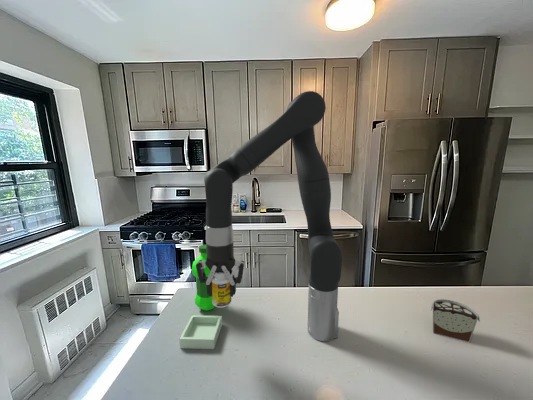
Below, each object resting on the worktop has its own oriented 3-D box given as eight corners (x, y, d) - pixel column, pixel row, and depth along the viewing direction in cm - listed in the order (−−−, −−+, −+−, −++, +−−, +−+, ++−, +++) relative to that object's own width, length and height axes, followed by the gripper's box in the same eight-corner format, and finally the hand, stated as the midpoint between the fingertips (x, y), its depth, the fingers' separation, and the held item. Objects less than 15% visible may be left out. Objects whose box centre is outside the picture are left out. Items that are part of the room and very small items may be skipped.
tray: (222, 324, 80) (221, 315, 79) (214, 349, 70) (213, 339, 69) (192, 323, 80) (191, 315, 80) (180, 348, 70) (179, 338, 69)
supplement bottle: (216, 311, 63) (215, 277, 62) (209, 301, 68) (208, 269, 66) (234, 304, 67) (234, 271, 65) (226, 294, 71) (226, 264, 69)
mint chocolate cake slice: (468, 330, 76) (473, 303, 74) (475, 344, 70) (480, 315, 69) (424, 320, 81) (427, 294, 79) (427, 332, 75) (431, 305, 74)
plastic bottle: (211, 295, 97) (207, 239, 93) (226, 305, 90) (224, 246, 86) (189, 307, 90) (185, 246, 85) (205, 319, 83) (200, 254, 78)
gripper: (246, 236, 67) (247, 288, 70) (198, 235, 68) (201, 287, 71) (243, 245, 60) (244, 303, 63) (189, 244, 60) (193, 302, 63)
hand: (221, 294), depth 67 cm, fingers closed on supplement bottle, 5 cm apart
